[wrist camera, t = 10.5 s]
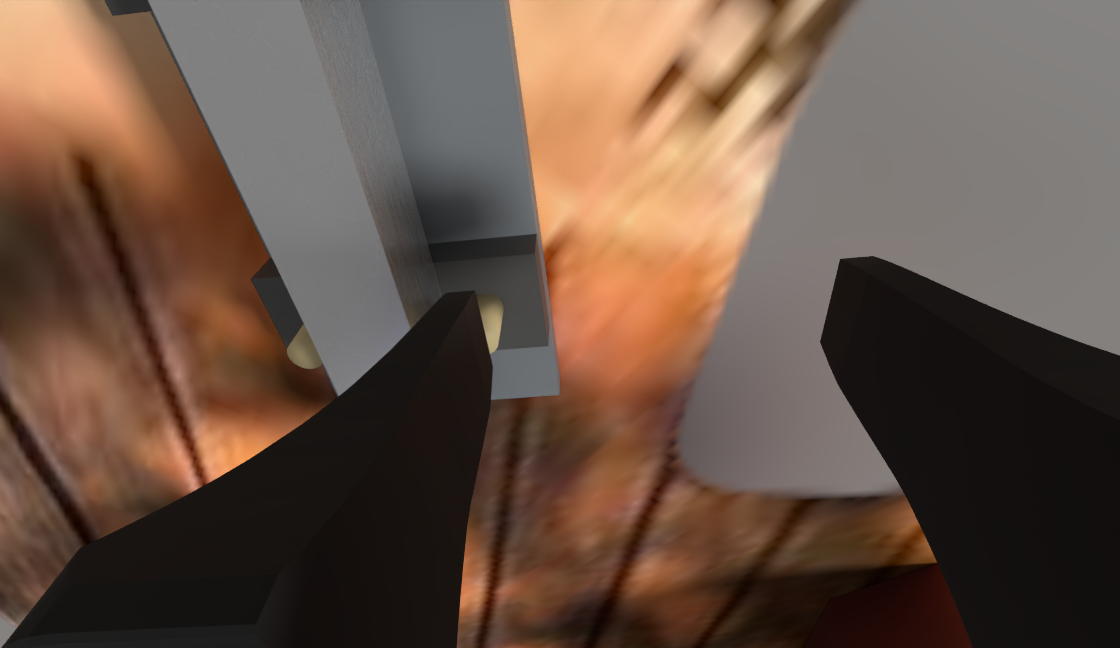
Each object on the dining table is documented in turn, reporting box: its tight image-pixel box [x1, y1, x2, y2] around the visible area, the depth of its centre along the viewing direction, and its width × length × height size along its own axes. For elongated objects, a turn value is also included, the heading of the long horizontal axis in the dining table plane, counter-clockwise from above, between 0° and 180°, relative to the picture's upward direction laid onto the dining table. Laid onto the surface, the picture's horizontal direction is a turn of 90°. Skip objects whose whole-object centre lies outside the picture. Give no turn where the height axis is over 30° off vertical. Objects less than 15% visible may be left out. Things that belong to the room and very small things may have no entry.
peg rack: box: [105, 0, 560, 400], centre depth 16 cm, size 24×10×5 cm, turn 6°
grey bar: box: [148, 0, 442, 396], centre depth 14 cm, size 24×4×4 cm, turn 6°
